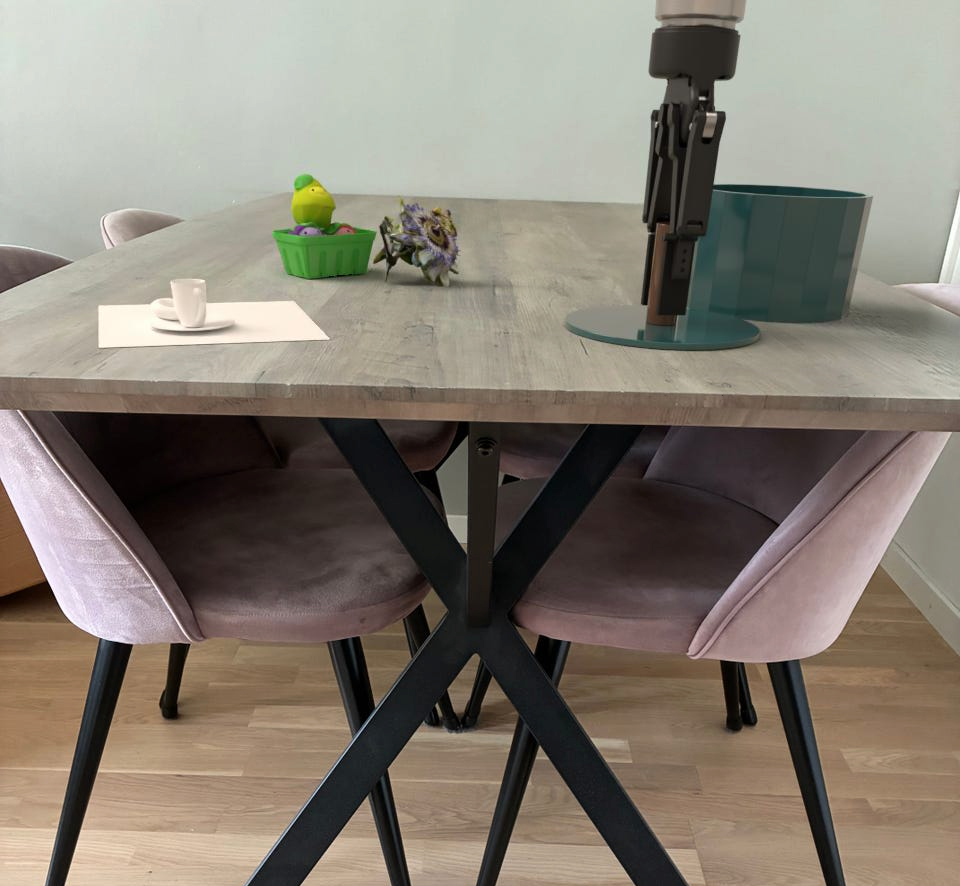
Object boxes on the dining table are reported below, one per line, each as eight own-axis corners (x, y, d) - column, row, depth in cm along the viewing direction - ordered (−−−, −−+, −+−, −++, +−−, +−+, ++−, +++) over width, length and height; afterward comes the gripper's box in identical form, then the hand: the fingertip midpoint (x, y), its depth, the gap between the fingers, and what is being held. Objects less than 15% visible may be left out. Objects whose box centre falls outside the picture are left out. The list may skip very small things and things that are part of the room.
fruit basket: (305, 281, 115) (299, 178, 110) (266, 272, 121) (259, 173, 116) (380, 274, 122) (378, 177, 117) (340, 265, 128) (337, 172, 122)
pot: (802, 298, 117) (823, 186, 111) (876, 329, 101) (906, 199, 95) (659, 297, 114) (673, 182, 108) (712, 328, 98) (732, 195, 92)
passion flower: (441, 334, 117) (440, 258, 106) (359, 310, 118) (350, 232, 108) (471, 270, 122) (474, 191, 111) (392, 247, 123) (386, 167, 112)
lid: (717, 317, 104) (732, 215, 99) (790, 357, 87) (812, 237, 82) (546, 316, 101) (553, 211, 96) (588, 356, 85) (599, 233, 80)
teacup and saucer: (145, 318, 93) (139, 273, 91) (229, 316, 95) (225, 272, 93) (149, 337, 85) (143, 289, 83) (239, 334, 88) (235, 287, 86)
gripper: (627, 31, 89) (603, 293, 100) (688, 15, 74) (651, 327, 85) (704, 35, 90) (671, 294, 101) (780, 20, 75) (731, 327, 86)
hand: (662, 309), depth 93 cm, fingers open, 4 cm apart
